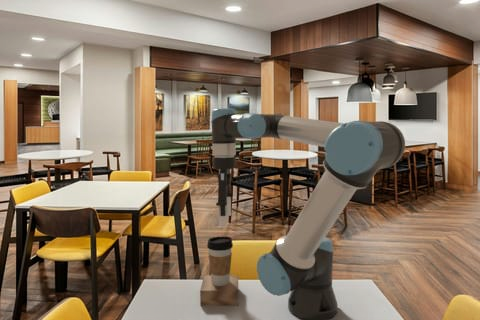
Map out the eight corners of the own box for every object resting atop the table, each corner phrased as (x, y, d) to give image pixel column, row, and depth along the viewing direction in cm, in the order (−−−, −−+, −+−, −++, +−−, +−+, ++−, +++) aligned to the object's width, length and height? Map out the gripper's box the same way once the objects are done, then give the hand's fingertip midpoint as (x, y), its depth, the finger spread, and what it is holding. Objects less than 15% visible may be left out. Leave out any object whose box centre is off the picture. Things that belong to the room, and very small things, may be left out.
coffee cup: (229, 288, 120) (229, 243, 119) (204, 286, 122) (203, 241, 121) (235, 278, 128) (235, 235, 127) (211, 276, 130) (211, 234, 129)
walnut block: (238, 288, 132) (238, 275, 131) (238, 305, 120) (237, 290, 119) (204, 289, 132) (203, 275, 131) (200, 305, 120) (200, 290, 119)
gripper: (217, 153, 135) (218, 211, 137) (207, 159, 110) (209, 230, 112) (237, 153, 135) (238, 211, 136) (232, 159, 110) (234, 230, 112)
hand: (225, 220), depth 124 cm, fingers open, 13 cm apart
